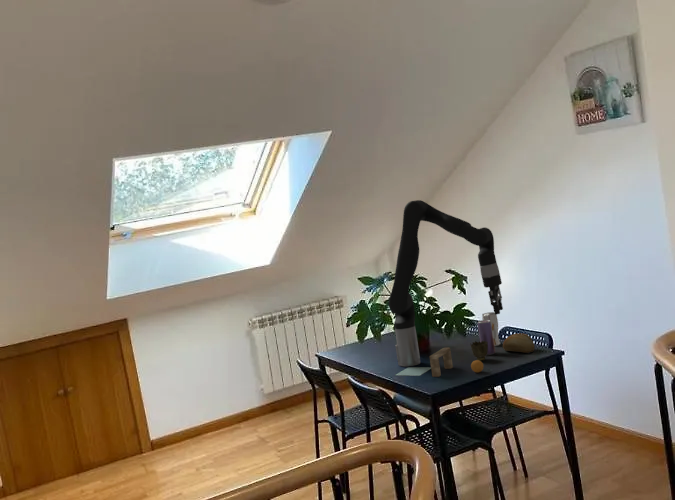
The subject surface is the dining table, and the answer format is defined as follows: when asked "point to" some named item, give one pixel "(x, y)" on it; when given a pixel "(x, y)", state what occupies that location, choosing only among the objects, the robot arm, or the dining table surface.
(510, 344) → the bread roll
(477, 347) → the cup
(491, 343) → the beverage can
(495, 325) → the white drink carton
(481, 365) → the ball
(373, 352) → the dining table surface
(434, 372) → the bridge
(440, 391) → the dining table surface
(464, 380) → the dining table surface
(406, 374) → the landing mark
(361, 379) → the dining table surface
